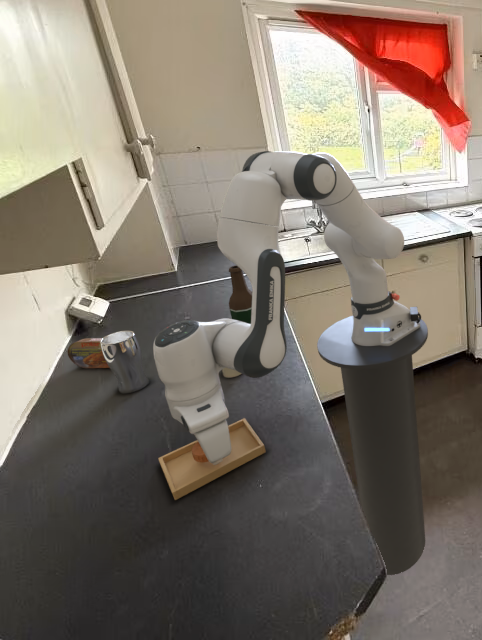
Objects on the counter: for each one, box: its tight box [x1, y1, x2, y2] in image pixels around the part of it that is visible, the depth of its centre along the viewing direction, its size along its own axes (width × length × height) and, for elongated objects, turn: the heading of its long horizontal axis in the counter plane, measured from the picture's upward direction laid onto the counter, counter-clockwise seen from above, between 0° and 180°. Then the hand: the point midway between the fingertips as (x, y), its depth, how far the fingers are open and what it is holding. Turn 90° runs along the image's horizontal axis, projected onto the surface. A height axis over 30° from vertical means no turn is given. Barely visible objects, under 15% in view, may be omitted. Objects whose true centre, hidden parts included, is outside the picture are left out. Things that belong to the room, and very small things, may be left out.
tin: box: [67, 337, 110, 369], centre depth 119 cm, size 15×3×8 cm, turn 92°
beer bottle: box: [228, 265, 252, 324], centre depth 133 cm, size 8×8×24 cm
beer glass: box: [100, 330, 150, 394], centre depth 109 cm, size 7×7×15 cm
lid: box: [192, 442, 208, 462], centre depth 89 cm, size 6×6×2 cm
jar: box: [221, 367, 243, 379], centre depth 117 cm, size 5×5×11 cm
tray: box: [157, 417, 267, 501], centre depth 90 cm, size 16×12×2 cm
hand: (212, 452), depth 90 cm, fingers closed on lid, 6 cm apart
